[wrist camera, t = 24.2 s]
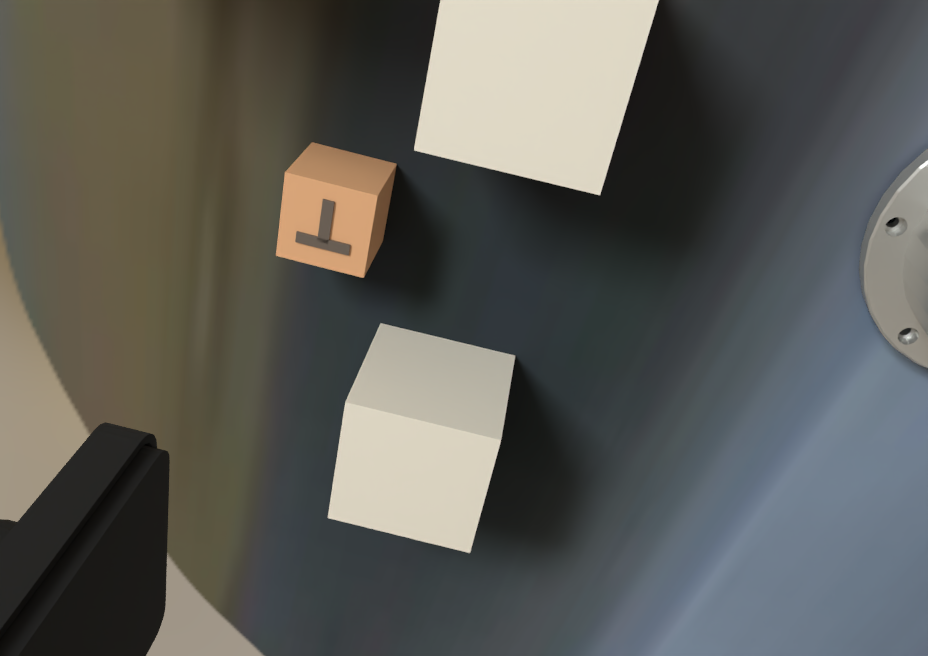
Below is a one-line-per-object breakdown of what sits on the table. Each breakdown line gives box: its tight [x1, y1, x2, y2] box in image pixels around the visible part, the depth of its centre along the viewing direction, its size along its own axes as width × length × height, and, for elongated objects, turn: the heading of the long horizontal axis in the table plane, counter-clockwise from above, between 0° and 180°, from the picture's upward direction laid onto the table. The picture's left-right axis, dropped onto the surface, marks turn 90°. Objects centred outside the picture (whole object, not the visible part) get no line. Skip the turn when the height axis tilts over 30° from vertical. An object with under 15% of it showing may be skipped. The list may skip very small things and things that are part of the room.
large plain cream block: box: [414, 0, 659, 195], centre depth 33 cm, size 7×7×7 cm
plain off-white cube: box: [328, 323, 515, 553], centre depth 43 cm, size 7×7×7 cm
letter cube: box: [276, 142, 397, 278], centre depth 39 cm, size 4×4×4 cm
